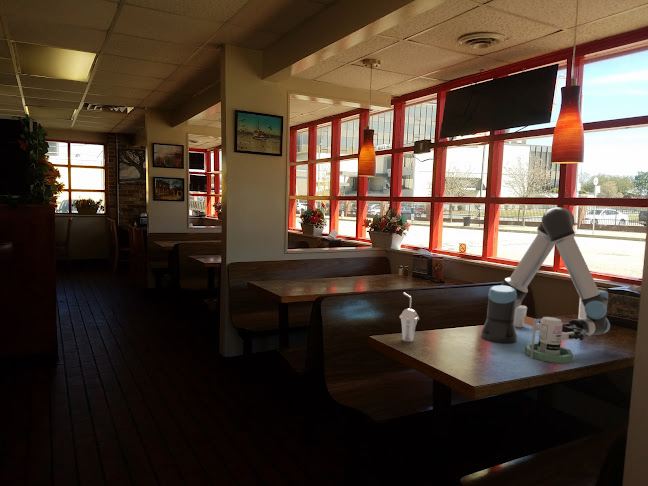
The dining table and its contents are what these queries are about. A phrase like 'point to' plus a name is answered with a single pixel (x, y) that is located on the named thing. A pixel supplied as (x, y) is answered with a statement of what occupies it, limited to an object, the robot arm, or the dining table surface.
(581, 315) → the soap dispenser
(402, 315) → the cup with straw
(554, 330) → the supplement can
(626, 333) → the dining table surface
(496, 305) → the robot arm
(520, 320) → the white cup
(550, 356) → the cup
